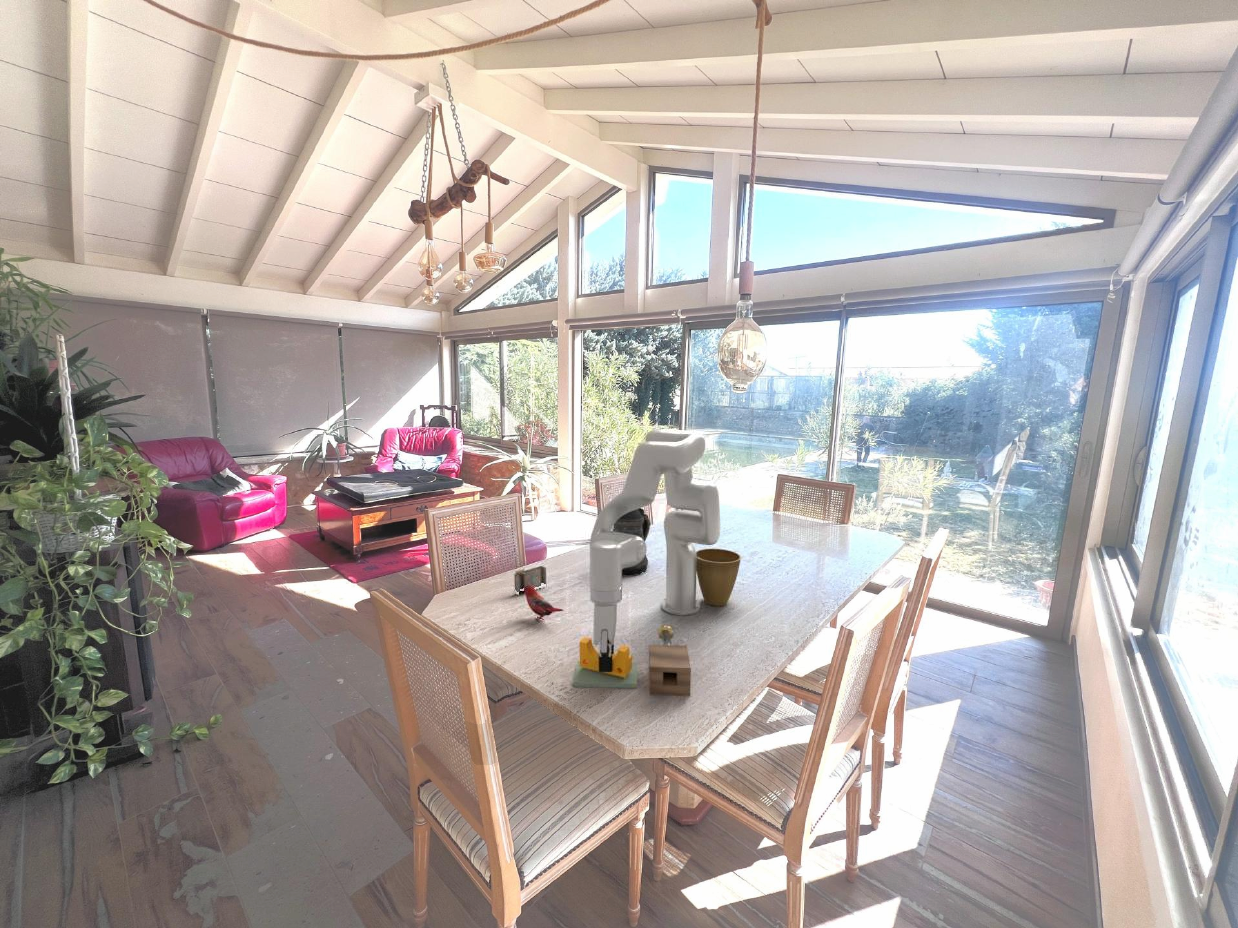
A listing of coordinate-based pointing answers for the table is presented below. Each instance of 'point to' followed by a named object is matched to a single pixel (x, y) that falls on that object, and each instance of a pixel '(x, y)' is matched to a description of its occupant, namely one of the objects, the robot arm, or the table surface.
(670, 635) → the shaft
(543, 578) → the grey upright flat frame
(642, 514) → the beer stein
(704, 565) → the plant pot
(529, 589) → the decorative bird figurine
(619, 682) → the plate
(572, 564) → the table surface
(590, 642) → the pipe clamp
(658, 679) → the shaft housing
